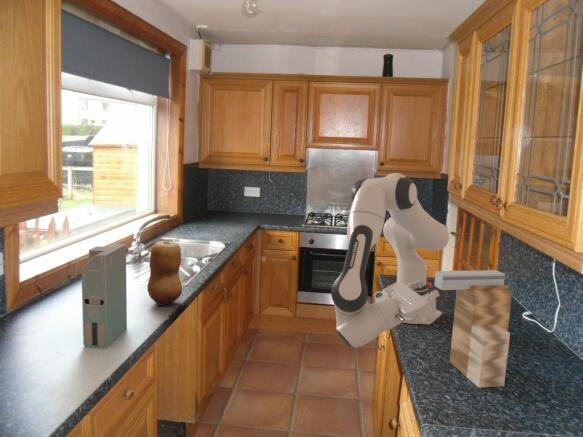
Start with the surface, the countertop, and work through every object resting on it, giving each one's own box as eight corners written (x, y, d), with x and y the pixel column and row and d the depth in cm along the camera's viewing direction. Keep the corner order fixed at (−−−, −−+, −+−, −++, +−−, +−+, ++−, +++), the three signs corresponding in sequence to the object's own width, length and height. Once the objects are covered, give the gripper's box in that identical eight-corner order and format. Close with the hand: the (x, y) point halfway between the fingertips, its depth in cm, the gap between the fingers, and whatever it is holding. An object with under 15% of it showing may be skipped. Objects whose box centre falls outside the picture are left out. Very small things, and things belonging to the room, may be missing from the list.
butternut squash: (184, 307, 200) (184, 245, 196) (149, 310, 195) (148, 246, 191) (178, 296, 213) (178, 238, 209) (145, 299, 208) (144, 239, 204)
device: (105, 327, 177) (103, 242, 172) (127, 328, 177) (126, 244, 172) (83, 346, 161) (80, 254, 156) (107, 348, 160) (105, 255, 155)
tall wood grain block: (478, 387, 145) (488, 296, 140) (449, 362, 160) (457, 279, 156) (516, 385, 147) (527, 294, 143) (483, 360, 163) (492, 278, 159)
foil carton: (441, 290, 147) (443, 275, 147) (434, 285, 152) (435, 271, 151) (503, 288, 152) (505, 274, 151) (494, 284, 156) (496, 270, 155)
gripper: (399, 315, 137) (443, 289, 138) (372, 291, 157) (410, 268, 158) (409, 333, 139) (451, 308, 140) (381, 308, 158) (418, 285, 160)
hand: (429, 287), depth 149 cm, fingers open, 8 cm apart
